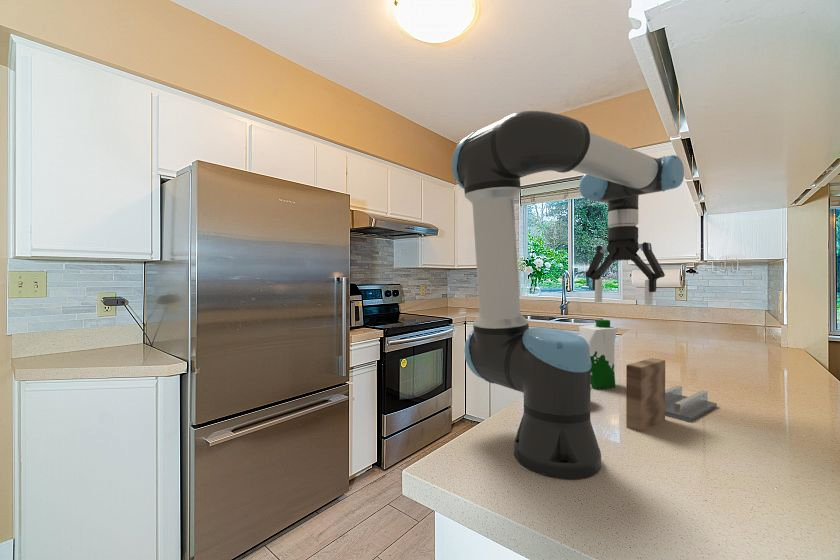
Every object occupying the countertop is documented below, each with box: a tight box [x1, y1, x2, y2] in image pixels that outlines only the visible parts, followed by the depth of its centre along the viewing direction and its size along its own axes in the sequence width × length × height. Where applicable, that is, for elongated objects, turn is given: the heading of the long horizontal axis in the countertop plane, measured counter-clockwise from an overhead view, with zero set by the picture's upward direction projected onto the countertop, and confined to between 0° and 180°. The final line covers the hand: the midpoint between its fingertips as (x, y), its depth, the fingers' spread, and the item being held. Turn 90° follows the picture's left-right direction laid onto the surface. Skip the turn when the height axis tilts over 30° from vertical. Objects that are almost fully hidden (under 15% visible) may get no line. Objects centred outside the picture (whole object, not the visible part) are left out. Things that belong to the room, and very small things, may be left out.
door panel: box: [625, 357, 666, 433], centre depth 87 cm, size 12×3×14 cm, turn 125°
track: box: [665, 385, 718, 423], centre depth 97 cm, size 17×11×4 cm, turn 125°
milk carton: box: [578, 319, 618, 390], centre depth 117 cm, size 9×9×20 cm
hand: (622, 303), depth 106 cm, fingers open, 13 cm apart
